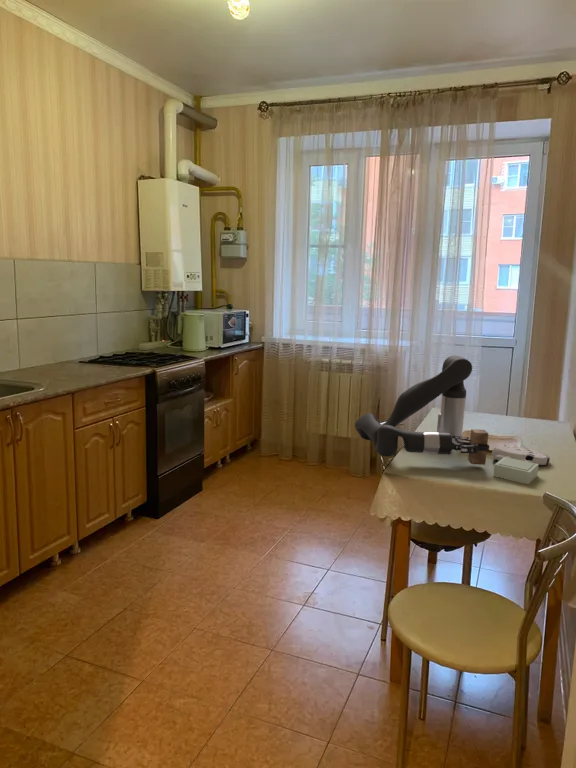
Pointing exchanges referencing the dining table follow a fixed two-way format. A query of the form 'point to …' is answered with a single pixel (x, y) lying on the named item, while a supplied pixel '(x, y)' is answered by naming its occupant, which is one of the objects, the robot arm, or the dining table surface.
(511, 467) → the stand
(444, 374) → the robot arm
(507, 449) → the toy
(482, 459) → the block
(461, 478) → the dining table surface
